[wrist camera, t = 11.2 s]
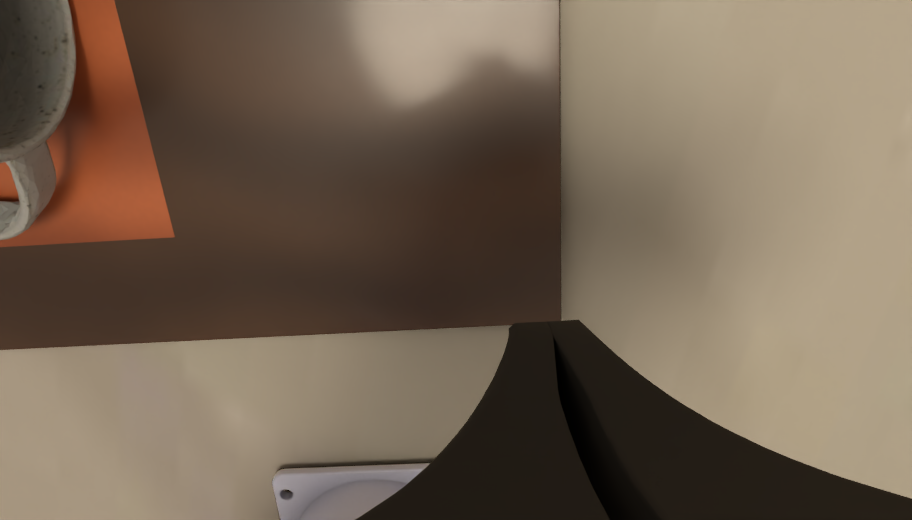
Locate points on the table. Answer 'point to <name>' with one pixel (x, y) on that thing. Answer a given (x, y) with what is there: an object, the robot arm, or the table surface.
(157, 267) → the walnut board
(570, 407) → the robot arm
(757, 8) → the table surface
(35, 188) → the ceramic mug
